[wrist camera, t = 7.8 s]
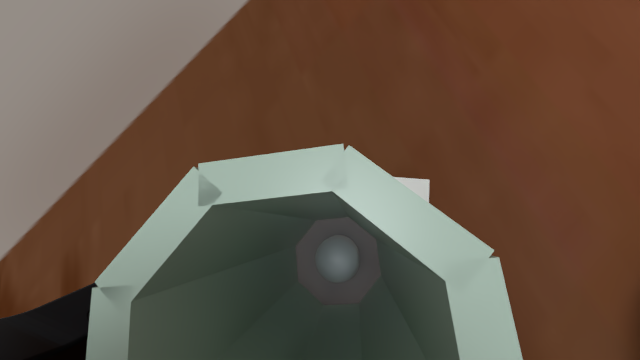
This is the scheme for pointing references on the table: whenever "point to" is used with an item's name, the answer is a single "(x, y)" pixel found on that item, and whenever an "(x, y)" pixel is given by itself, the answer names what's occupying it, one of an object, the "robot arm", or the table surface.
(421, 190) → the post board
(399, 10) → the table surface
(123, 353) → the sleeve
